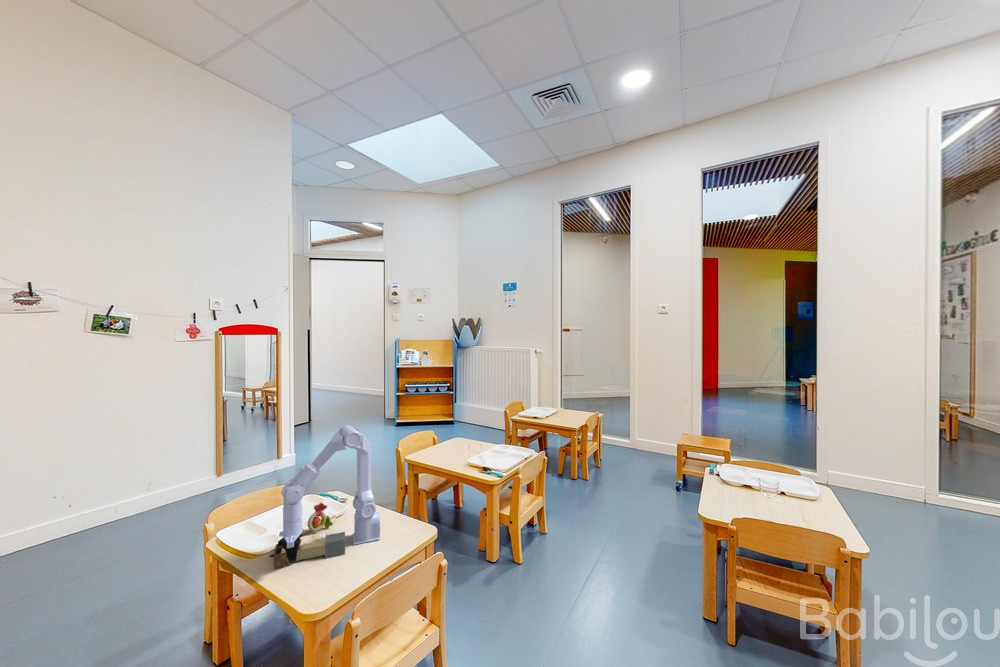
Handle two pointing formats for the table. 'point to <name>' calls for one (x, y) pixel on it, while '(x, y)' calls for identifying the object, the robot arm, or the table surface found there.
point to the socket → (279, 558)
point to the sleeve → (335, 545)
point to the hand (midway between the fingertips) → (293, 556)
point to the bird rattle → (318, 523)
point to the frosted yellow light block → (308, 550)
